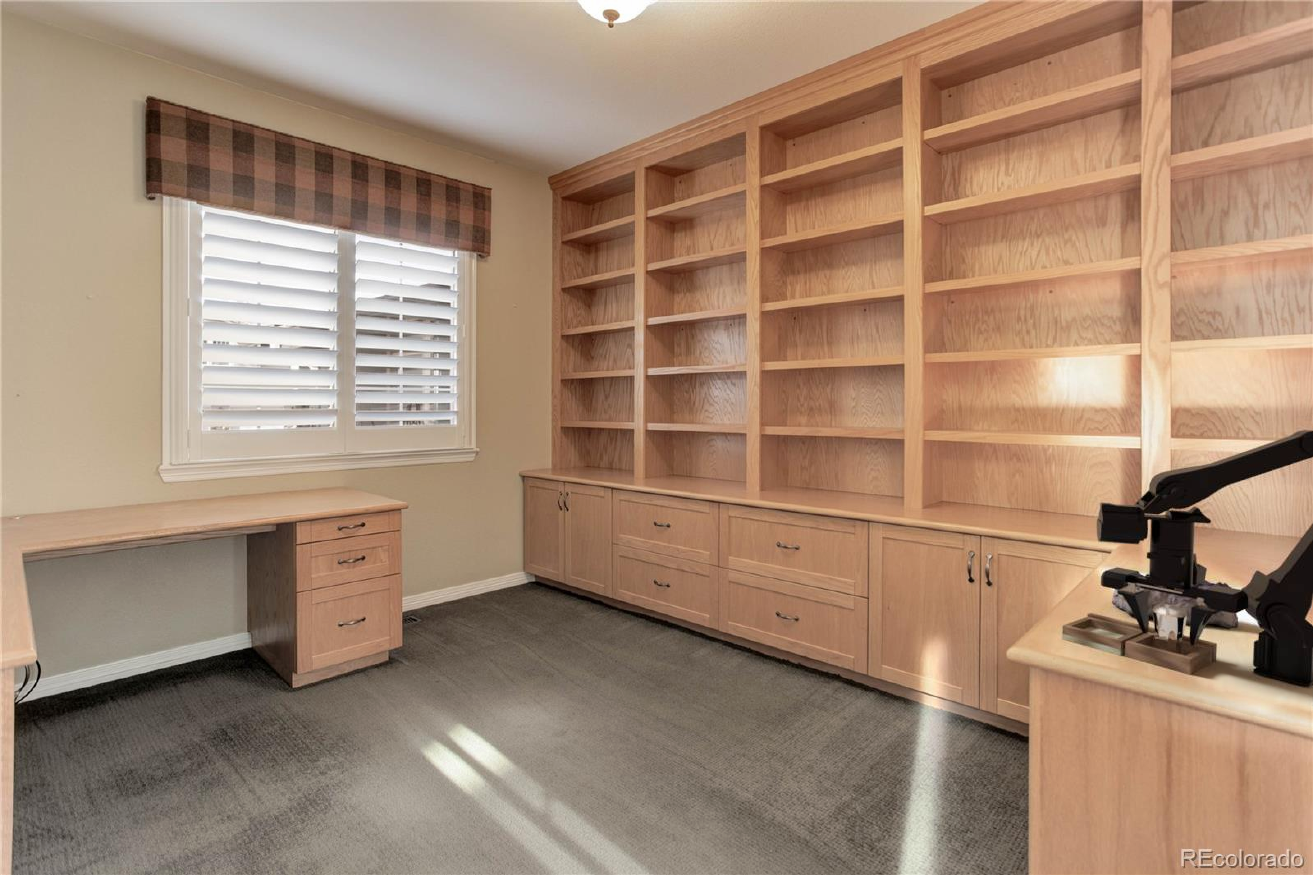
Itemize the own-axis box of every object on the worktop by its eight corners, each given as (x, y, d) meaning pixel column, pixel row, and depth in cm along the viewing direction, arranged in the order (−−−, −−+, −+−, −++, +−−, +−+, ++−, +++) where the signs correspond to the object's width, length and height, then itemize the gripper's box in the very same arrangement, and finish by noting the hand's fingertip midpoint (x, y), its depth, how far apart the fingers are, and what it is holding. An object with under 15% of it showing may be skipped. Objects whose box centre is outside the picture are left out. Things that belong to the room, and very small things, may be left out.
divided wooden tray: (1216, 661, 108) (1216, 643, 108) (1190, 675, 102) (1190, 656, 102) (1090, 628, 124) (1090, 612, 124) (1061, 638, 118) (1062, 622, 118)
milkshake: (1148, 660, 108) (1150, 601, 108) (1153, 651, 112) (1155, 594, 112) (1182, 667, 105) (1184, 607, 105) (1187, 658, 109) (1189, 600, 108)
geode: (1228, 617, 131) (1234, 570, 129) (1244, 642, 121) (1251, 592, 119) (1107, 598, 141) (1111, 555, 139) (1112, 620, 131) (1117, 574, 130)
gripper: (1262, 551, 104) (1258, 646, 105) (1129, 533, 120) (1127, 615, 121) (1236, 560, 98) (1233, 661, 99) (1100, 539, 114) (1098, 626, 115)
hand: (1168, 638), depth 108 cm, fingers open, 6 cm apart
